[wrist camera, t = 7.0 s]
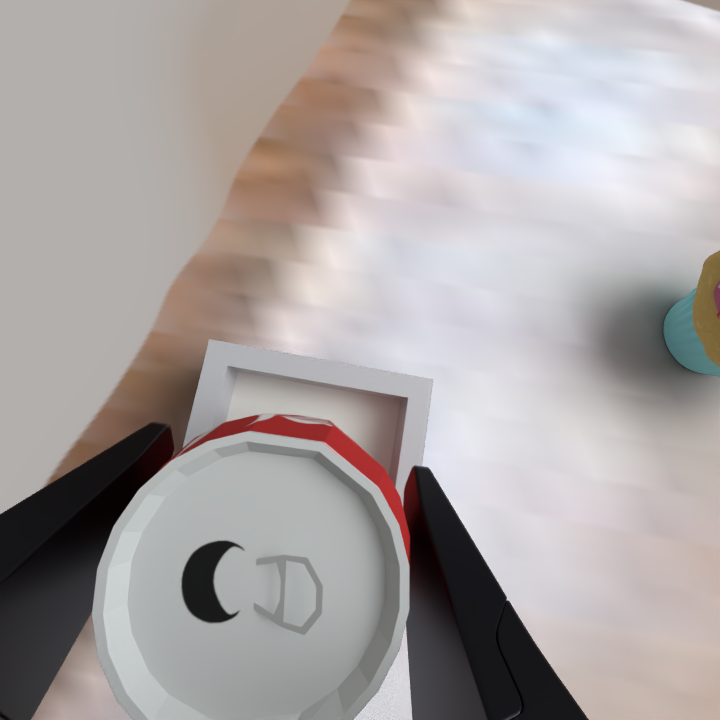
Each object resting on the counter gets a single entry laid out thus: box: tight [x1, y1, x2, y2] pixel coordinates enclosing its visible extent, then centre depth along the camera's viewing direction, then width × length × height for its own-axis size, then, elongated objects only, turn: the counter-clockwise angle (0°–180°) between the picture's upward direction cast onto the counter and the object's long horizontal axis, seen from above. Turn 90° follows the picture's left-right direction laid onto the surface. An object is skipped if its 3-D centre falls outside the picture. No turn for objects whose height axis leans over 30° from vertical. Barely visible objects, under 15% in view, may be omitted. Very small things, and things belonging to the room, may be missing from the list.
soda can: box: [92, 413, 410, 720], centre depth 12 cm, size 6×6×12 cm
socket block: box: [182, 339, 433, 506], centre depth 18 cm, size 10×10×4 cm
